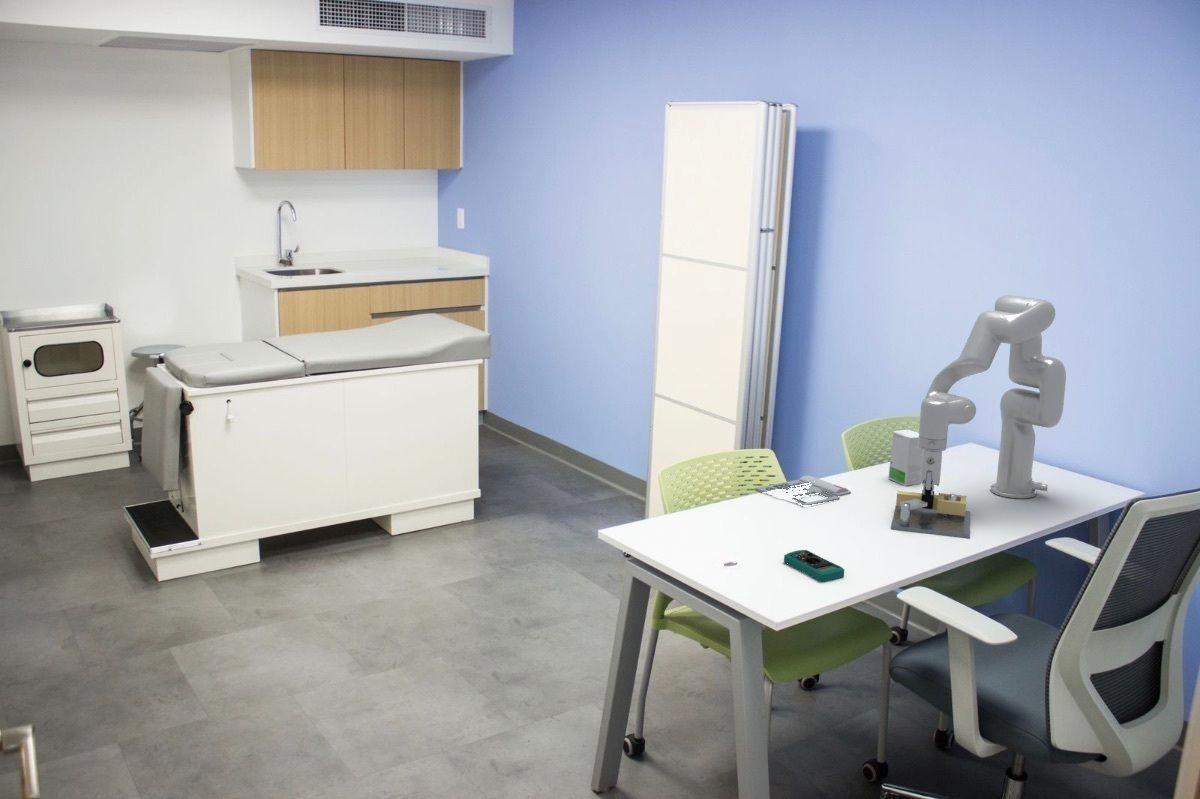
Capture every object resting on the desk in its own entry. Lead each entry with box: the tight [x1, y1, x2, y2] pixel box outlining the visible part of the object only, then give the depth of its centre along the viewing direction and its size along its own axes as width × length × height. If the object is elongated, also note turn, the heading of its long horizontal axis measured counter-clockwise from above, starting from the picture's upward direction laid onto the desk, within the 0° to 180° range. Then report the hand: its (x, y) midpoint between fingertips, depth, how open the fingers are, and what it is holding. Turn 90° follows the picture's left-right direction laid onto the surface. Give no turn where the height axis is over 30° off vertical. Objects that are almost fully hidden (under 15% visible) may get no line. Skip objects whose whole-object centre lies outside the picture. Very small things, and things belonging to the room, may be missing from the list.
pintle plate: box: [890, 493, 971, 539], centre depth 286 cm, size 20×20×7 cm
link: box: [895, 490, 967, 516], centre depth 292 cm, size 18×7×4 cm, turn 71°
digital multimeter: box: [783, 549, 845, 583], centre depth 253 cm, size 7×15×3 cm, turn 29°
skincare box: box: [887, 429, 922, 487], centre depth 321 cm, size 8×7×16 cm
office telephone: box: [754, 475, 852, 505], centre depth 311 cm, size 23×3×20 cm
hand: (927, 505), depth 293 cm, fingers closed on link, 3 cm apart
